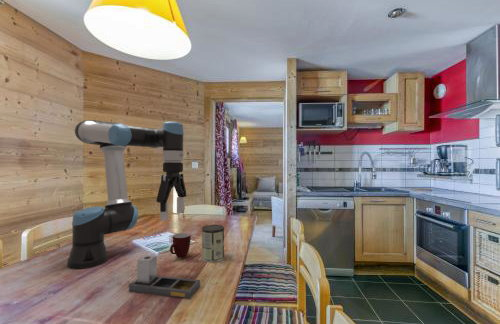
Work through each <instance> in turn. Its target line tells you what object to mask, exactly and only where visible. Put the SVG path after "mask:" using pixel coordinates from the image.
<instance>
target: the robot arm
mask: <svg viewBox="0 0 500 324" xmlns="http://www.w3.org/2000/svg"><path fill="white" fill-rule="evenodd" d="M74 135H75V136H76V138H77V139H78V141H80V142H82V143H85V144H88V145H96V146H97V145H98V146H99V150H100V151H101V152H102V153H103V156H104V157H103V158H104V167H105V169H104V170H105V180H106V193H107V202H106V203H105V204H104V207H103V206H98V205H97V206H91V207H86V208H82V209H80V210H77V211H75V212H74V213H73V214H72V223H71V225H72V245H71V250H70V254H69V257H68V259H66V260H67V262H66V263H67V268H70V269H74V270H75V269H76V270H77V269H78V270H79V269H80V270H81V269H87V268H92V267H95V266H99V265H102V264H103V263H105V262H107V261H108V260H109V253H108V252H109V251H107V248H106V245H105V239H104V237H105V235H109V234H114V233H118V232H125V231H127V230H131V229H133V228H134V227H135V226H136V224H137V222H138V218H139V211H138V209H137V206H136V205H135V204H133V203H132V200H130V199H129V197H128V187H127V176H126V165H125V156H124V155H125V154H124V152H125V151H126V149H127V146H128V147H143V148H150V149H151V148H152V149H157V148H158V149H159V148H162V161H163V163H162V172H163V173H166V174H165V175H164V174H162V175H161V179H160V185H159V189H158V192H157V196H156V202H157V203H159V206H160V207H159V211H160V212H159V213H160V214H159V220H160V221H161V222H162V221H163V222H164V221H167V222H168V221H169V202H168V200H169V196H170V194H171V191H172V189H173V188H174V190H175V193H176V194H177V197H176V213H177V214H184V213H185V212H184V210H185V203H184V202H185V198H186V197H187V189H186V185H185V180H184V173H182V172H184V163H183V161H184V156H185V154H184V135H185V133H184V125H183V123H181V122H179V121H164V123H163V124H162V128H151V127H144V126H143V127H142V126H134V125H127V124H123V123H118V122H113V121H112V122H111V121H105V120H104V121H103V120H98V119H97V120H95V119H86V120H82V121H80V122H78V123H77V124H76V125H75V127H74Z"/></svg>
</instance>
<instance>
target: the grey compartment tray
mask: <svg viewBox="0 0 500 324" xmlns="http://www.w3.org/2000/svg"><path fill="white" fill-rule="evenodd" d="M200 287H201V280H200V279H193V278H184V277H183V278H182V277H173V276H172V277H171V276H165V275H157V280H156V281H155V282H154V283H152V284H151V285H150V286H149V285H140V284H137V279H136V280H134V281H133V282H132V283H130V284H129V285H128V292H133V293H140V294H148V295H157V296H166V297H171V298H181V299H188V300H189V299H191V298H192V296H193V295H194V294H195V293H196V292H197V290H198V289H199V288H200Z"/></svg>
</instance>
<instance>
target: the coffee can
mask: <svg viewBox="0 0 500 324" xmlns="http://www.w3.org/2000/svg"><path fill="white" fill-rule="evenodd" d="M224 259H225V226H224V225H221V224H209V225H204V226H202V227H201V260H202V261H203V262H207V263H216V262H220V261H223V260H224Z"/></svg>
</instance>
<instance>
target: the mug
mask: <svg viewBox="0 0 500 324" xmlns="http://www.w3.org/2000/svg"><path fill="white" fill-rule="evenodd" d="M191 240H192V239H191V233H188V232H179V233H174V234H173V235H172V244H171V245H170V247H169V252H170V253H171V255H175V256H176V257H177V258H178V259H184V258H186V257H187V256H188V253H189V251H190V246H191Z"/></svg>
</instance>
